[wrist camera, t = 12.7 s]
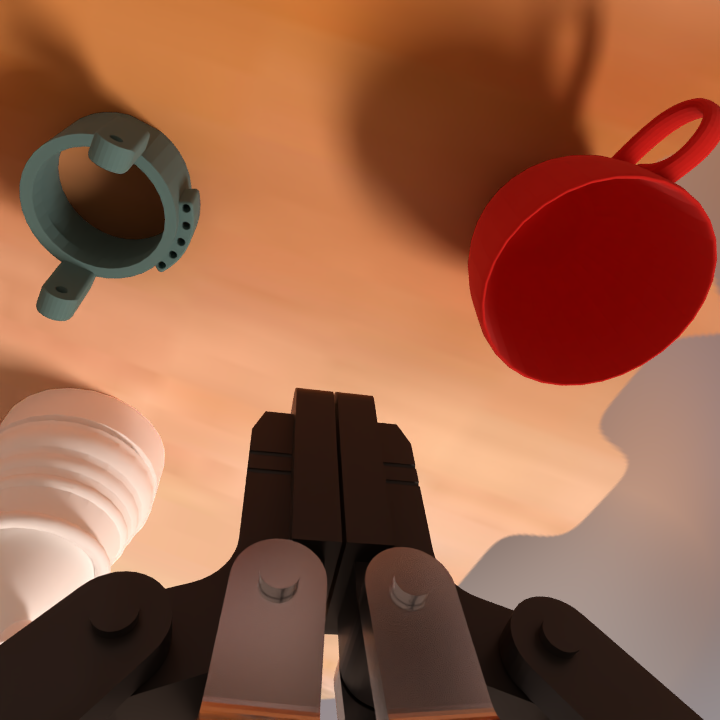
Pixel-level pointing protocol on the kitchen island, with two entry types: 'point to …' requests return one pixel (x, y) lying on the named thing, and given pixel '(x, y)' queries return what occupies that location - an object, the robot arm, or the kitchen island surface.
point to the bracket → (80, 239)
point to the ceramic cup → (596, 257)
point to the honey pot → (69, 495)
